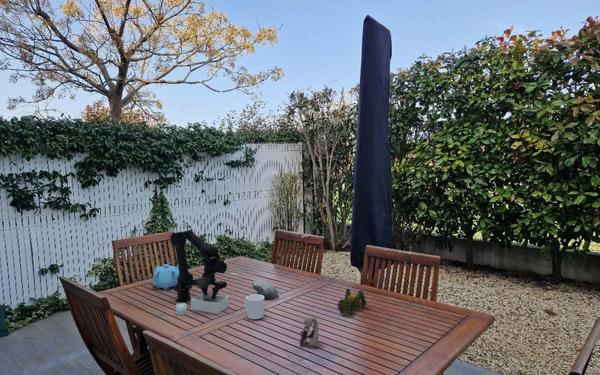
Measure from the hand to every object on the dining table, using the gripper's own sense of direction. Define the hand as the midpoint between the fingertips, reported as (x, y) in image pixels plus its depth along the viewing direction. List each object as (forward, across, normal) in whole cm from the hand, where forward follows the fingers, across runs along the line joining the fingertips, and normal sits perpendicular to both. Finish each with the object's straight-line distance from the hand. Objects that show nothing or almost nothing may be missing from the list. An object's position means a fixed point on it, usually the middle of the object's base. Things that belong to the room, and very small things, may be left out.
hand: (209, 298), depth 207 cm
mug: (+5, +28, -2) cm, 29 cm away
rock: (+5, +19, +28) cm, 34 cm away
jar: (+5, -9, -12) cm, 16 cm away
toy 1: (+5, +65, -19) cm, 68 cm away
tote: (+5, 0, 0) cm, 5 cm away
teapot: (+6, -47, +20) cm, 51 cm away
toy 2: (+5, +72, +28) cm, 77 cm away
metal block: (+2, 0, 0) cm, 2 cm away
